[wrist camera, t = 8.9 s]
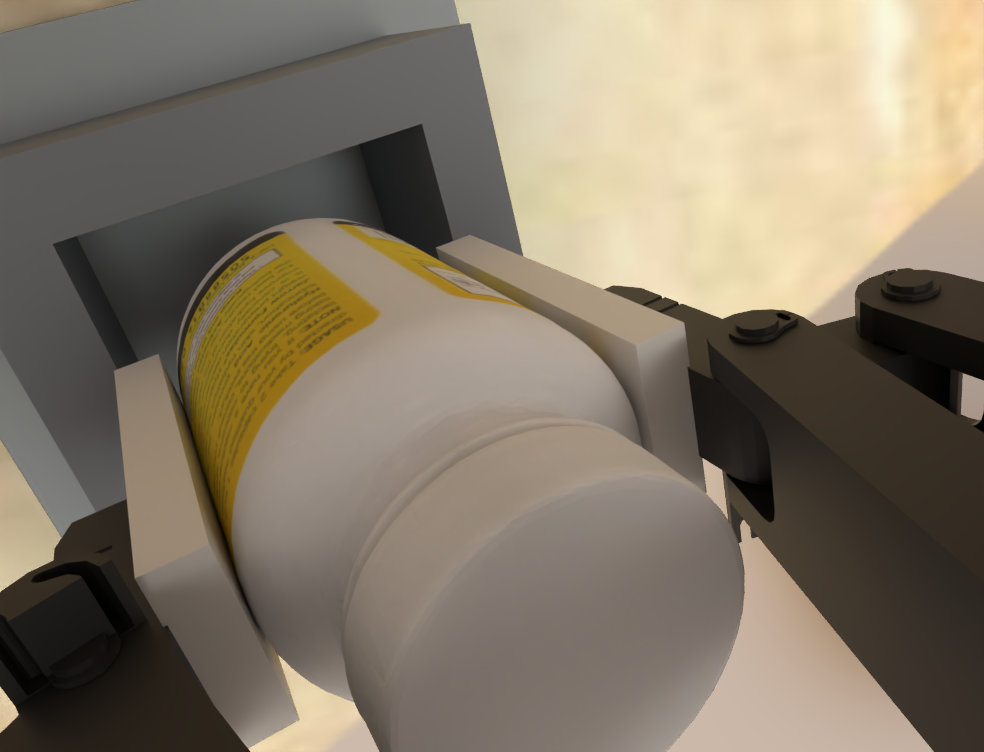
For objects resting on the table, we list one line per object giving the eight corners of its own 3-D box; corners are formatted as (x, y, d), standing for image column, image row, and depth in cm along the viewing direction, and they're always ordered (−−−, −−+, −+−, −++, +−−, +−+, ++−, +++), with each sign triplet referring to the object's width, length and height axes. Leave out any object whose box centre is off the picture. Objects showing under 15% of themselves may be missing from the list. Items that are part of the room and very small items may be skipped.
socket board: (-196, 85, 16) (-341, 89, 11) (415, -64, 20) (536, -116, 15) (111, 588, 22) (119, 753, 17) (527, 394, 27) (641, 475, 21)
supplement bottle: (202, 505, 15) (332, 996, 7) (145, 232, 13) (236, 485, 5) (453, 441, 18) (776, 765, 9) (436, 198, 15) (833, 337, 7)
